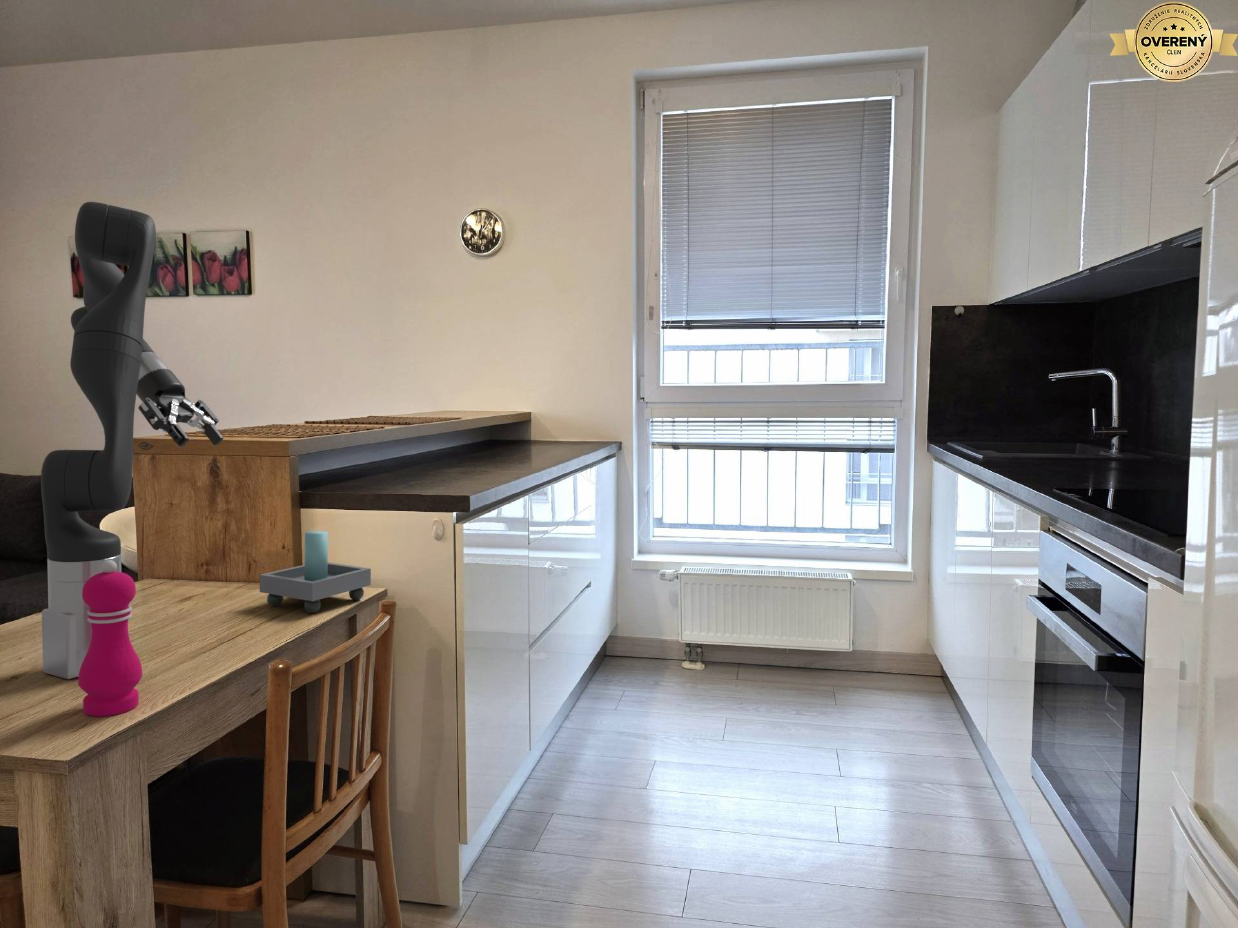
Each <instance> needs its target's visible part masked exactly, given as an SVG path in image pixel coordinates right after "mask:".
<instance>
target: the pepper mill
mask: <svg viewBox="0 0 1238 928" xmlns="http://www.w3.org/2000/svg"><path fill="white" fill-rule="evenodd" d="M116 569H117V564H116V563H115V562H114V561H112V560H107V561H105V562H103V563H102V565H101V570H102V571H103V572H102V573H98V574H96V575H94V576H92V577H90V578H89V579H88V580H87V581H86V583H85V584H84V586H83V591H82V598H83V600H84V602H85V603H86V604H87V605H88V606H89V607H90V609H89V610H88V611H87V614H88V618H87V621H88V622H90V623H91V627H92V637H91V643H90V647H89V649H88V651H87V654H86V656H85V658H84V660H83V663H82V665H81V668H80V671H79V677H77V678H78V679H77V680H78V681H77V683H78V686H79V688H80V689H81V690H82V691H83V692H84V693H86V695H85V696H84V698H83V699H82V707H83V708H82V709H83V710H82V712H83V713H84V715H86V716H89V717H110V716H115V715H119V714H120V715H121V714H124V713H126V712H129V711H132V710H133V709H135V708H136V707H137V706H139V701H140V700H139V698H140V697H139V690H138V689H137V688H135V687H136V686H137V685H138V684H139V683H140V681H141V679H142V678H143V666H142V663H141V660H140V657H139V655H138V653H137V652H136V650H135V649H134V646H133V645H132V642H131V639H130V636H129V619H131V618H132V616H133V613H132V609H133V608H132V606H131V605H130V603H131V602H132V601H133V600H134V598H135V596H136V593H137V587H136V583H135V581H134V579H133V577H131V576H130V575H128V574H127V573H125V572H122V571H121V572H117V571H115V570H116Z"/></svg>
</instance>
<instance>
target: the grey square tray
mask: <svg viewBox="0 0 1238 928" xmlns="http://www.w3.org/2000/svg"><path fill="white" fill-rule="evenodd" d="M304 569H305V564H303V565H297V566H291V567H289V568H284V569H279V570H275V571H271V572H265V573H262V574H259V593H263V594H267V597H266V602H267V603H268V605H270V606H271V607H278V606H280V605H281V604H282V603H283V600H284V597H285V598H292V599H297V600H303V601H305V602H304V605H303V606H304V607H303V608H304V610H305V611H306V612H307V613H309V614H315V613H317V612H319V610H320V609H321V605H322V604H321V601H320V600H322V599H325V598H329V597H333V596H337V595H340V594H343V593H344V594H345V593H348V596H349V597H350V599H351V600H354V601H358V600H361V599H362V598H363V597H364V594H365V590H364V588H365V587H369V586H371V585H372V584H371V582H372V579H371V575H372V573H371V572H372V568H368V567H363V566H362V567H361V566H354V565H349V564H348V565H347V564H341V563H334V562H328V572H327V578H324V579H320V580H316V581H307V580H304Z"/></svg>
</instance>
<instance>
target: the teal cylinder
mask: <svg viewBox="0 0 1238 928" xmlns="http://www.w3.org/2000/svg"><path fill="white" fill-rule="evenodd" d="M328 554H329V531H326V530H325V531H324V530H311V531H305V532H304V565H305V569H304V580H307V581H316V580H320V579H324V578H327V572H328V561H329V558H328V556H329V555H328Z"/></svg>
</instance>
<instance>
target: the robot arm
mask: <svg viewBox="0 0 1238 928" xmlns="http://www.w3.org/2000/svg"><path fill="white" fill-rule="evenodd" d="M74 227H75V229H74V244H75V249H76V254H77V259H78V262H79V267H80V271H81V273H82V274H81V275H82V276H83V296H82V297H83V305H84V306H81V307H79V308H77V309H74V311H73V312H72V313H71V317H70V323H71V326H72V329H73V330H74V332H73V338H72V339H73V340H72V346H71V347H72V348H71V355H70V364H69V365H70V366H69V367H70V372H71V374H72V376H73V378H74V380H75V381H76V383H77V385H78V386H79V388H80V390H81V391H82V393H83V394H84V396H85V398H87V401H89V404H91V406H92V407H93V410H94V411H95V413H96V414H97V417H98V419H99V420H100V423H101V425H102V428H103V433H104V447H103V449H101V450H100V449H56V450H53V451H50V452H48V454H47V455H46V456H45V458H44V460H43V463H42V466H41V469H40V470H41V472H40V486H41V487H40V489H41V490H40V491H41V501H42V509H43V511H42V513H43V523H44V538H45V545H46V554H47V555H46V558H47V560H46V561H47V598H48V600H47V601H48V602H47V603H48V607H47V608H44V609H42V611H41V632H42V633H41V635H42V638H41V640H42V673H44V674H48V675H52V676H55V677H59V678H62V679H66V680H70V679H75V678H79V671H80V668H81V665H82V663H83V660H84V658H85V656H86V654H87V651H88V649H89V647H90V643H91V637H92V627H91V623H90V622H88V621H87V618H88V614H87V611H88V610H89V609H90V607H89V606H88V605H87V604H86V603H85V602H84V600H83V598H82V591H83V586H84V584H85V583H86V581H87V580H88V579H89V578H90V577H92V576H94V575H96V574H98V573H102V572H103V571H102V570H101V565H102V563H103V562H105V561H107V560H112V561H114V562H115V563H116V564H117V569H116V570H115V571H117V572H122V542H121V541H122V540H121V538H120V537H119V535H117V534H115V533H113V532H110V531H108V530H107V531H106V530H104V529H100V528H97V527H95V526H93V525H91V524H89V523H88V522H86V521H84V520H83V519H82V517H80V515H79V512H116V511H120V510H122V509H124V508H125V507H126V505H127V504H128V503H129V498H130V496H131V491H132V484H133V464H134V463H133V461H134V460H133V459H134V458H133V457H134V456H133V455H134V421H135V411H136V410H135V409H136V400H137V397H138V398H139V400H140V401H141V403H140V404H139V406H138V410H139V411H140V412H141V414H142V416H143V418H145V419H146V421H147V422H148V424H149V425H150V427H151V428H152V429H153V430H155V431H159V430H162V432H164V433H167V434H168V436H169V437H170V438H171V439H172V440H173V441H174V443H176V444H177V446H179V447H184V446H186V444H187V443H188V442H189V435H188V434H186V433H185V431H184V430H183V429H182V428H181V426H180V425H179V424H178V423H184V424H187V425H189V426H190V427H193V428H195V427H196V428H197V429H199V430H201V431H202V432H203V433H204V435H205V436H206V438H208V440H209V441H210V443H212V444H213V445H214V446H219V445H220V444H221V443H222V441H223V440H224V437H223V434H221V432H220V431H219V430H218V428H217V427H216V425H217V424H218V423H219V422H220V419H219V418H218V417H217V415H216V414H215V413H214V412H213V411H212V410H211V408H210V407H209V406H208V405H207V404H206V403H205V402H204V401H203V400H202V399H198V400H197V401H196V402H192V401H191V400H189V399H188V398H187V397H186V388H185V386H184V385H183V383H182V382H181V381H180V379H179V378H178V377H177V376H176V375H175V373H174V372H173V371H172V369H170V368H169V366H168V365H167V364H166V362H165V361H164V360H163V359H162V358H161V357H159V356H158V355H157V354H156V352H155V351H154V350H153V349H152V347H151V346H150V345H149V343H147V341H146V340H145V339H144V328H145V327H144V326H145V310H146V309H145V308H146V300H147V295H148V288H149V281H150V276H151V270H152V265H153V260H154V259H153V258H154V254H155V246H156V237H157V236H156V232H157V231H156V224H155V220H154V219H153V217H152V216H150V215H149V214H147V213H144V212H141V211H138V210H132V209H128V208H125V207H121V206H116V205H112V204H107V203H103V202H98V201H97V202H96V201H87V202H84V203H82V205H80V207H79V209H78V212H77V215H76V220H75V225H74ZM117 265H119V266H125V267H128V268H127V270H126V272H125V274H124V273H123V272H122V270H121V269H120V268H119V267H118V266H117ZM194 415H195V416H196V417H195V418H194V419H193V417H194ZM155 418H156V419H155Z"/></svg>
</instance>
